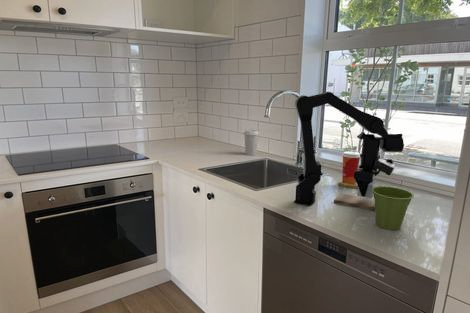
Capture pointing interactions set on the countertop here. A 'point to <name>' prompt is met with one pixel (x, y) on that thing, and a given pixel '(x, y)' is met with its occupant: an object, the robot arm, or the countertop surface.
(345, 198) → the cord clamp board
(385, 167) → the robot arm
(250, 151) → the coffee cup
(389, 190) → the plant pot
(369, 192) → the white cube with hole
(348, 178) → the paper cup
